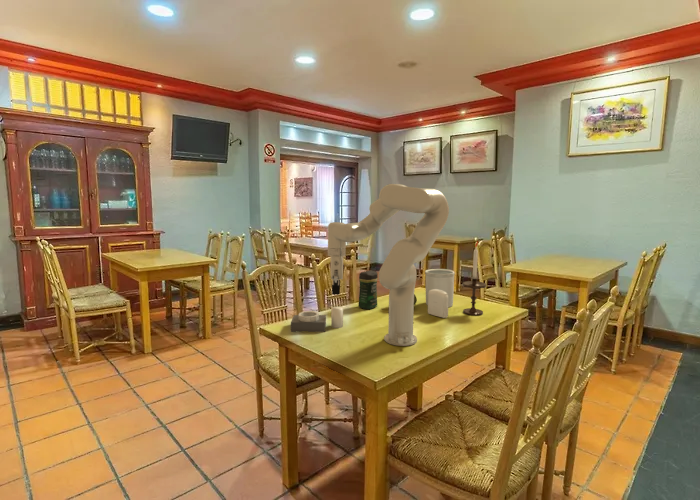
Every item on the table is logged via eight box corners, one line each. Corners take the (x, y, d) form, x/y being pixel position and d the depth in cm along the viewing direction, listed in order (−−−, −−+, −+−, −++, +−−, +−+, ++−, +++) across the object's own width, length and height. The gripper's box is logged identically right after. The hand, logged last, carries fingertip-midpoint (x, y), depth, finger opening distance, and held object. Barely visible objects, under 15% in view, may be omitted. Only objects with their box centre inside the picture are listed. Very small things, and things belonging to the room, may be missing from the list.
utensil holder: (419, 305, 201) (420, 271, 199) (431, 299, 213) (432, 267, 211) (446, 310, 193) (447, 275, 190) (457, 303, 204) (459, 270, 202)
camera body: (324, 331, 162) (324, 317, 161) (290, 331, 162) (290, 317, 161) (326, 323, 172) (325, 310, 171) (294, 323, 171) (293, 310, 171)
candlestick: (488, 312, 188) (492, 240, 184) (478, 317, 181) (482, 242, 176) (467, 308, 196) (470, 238, 191) (457, 312, 188) (460, 240, 183)
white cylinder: (343, 328, 166) (342, 309, 165) (331, 328, 166) (331, 309, 165) (343, 324, 171) (343, 306, 170) (331, 324, 171) (331, 306, 170)
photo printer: (426, 313, 187) (426, 288, 185) (431, 312, 189) (432, 287, 188) (443, 319, 179) (444, 292, 177) (449, 317, 181) (450, 291, 180)
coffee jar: (368, 310, 191) (369, 273, 189) (356, 307, 196) (356, 271, 194) (380, 306, 199) (380, 270, 196) (367, 303, 204) (367, 268, 201)
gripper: (345, 255, 156) (344, 297, 158) (345, 249, 173) (344, 286, 176) (326, 255, 156) (326, 296, 158) (328, 248, 173) (328, 286, 175)
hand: (336, 291), depth 167 cm, fingers open, 9 cm apart
